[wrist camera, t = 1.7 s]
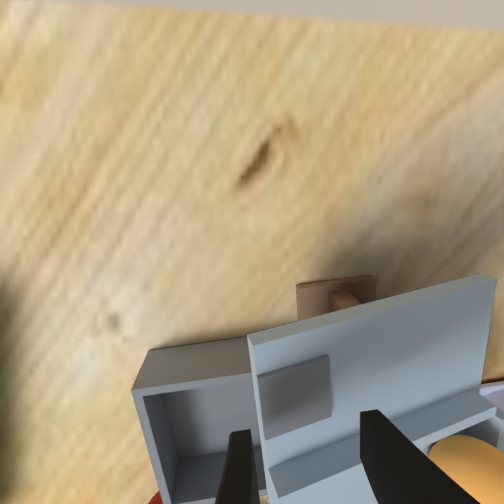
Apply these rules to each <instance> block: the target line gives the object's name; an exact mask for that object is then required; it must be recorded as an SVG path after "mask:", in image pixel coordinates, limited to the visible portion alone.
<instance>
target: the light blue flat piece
mask: <svg viewBox="0 0 504 504" xmlns="http://www.w3.org/2000/svg"><path fill="white" fill-rule="evenodd" d="M496 282H497V279H496V278H493V277H489V276H486V275H483V274H480V273H479V274H475V275H471V276H468V277H464V278H460V279H456V280H452V281H449V282H445V283H441V284H437V285H434V286H430V287H426V288H422V289H418V290H415V291H411V292H407V293H403V294H399V295H396V296H392V297H388V298H384V299H380V300H377V301H373V302H369V303H365V304H361V305H358V306H354V307H350V308H346V309H342V310H339V311H335V312H331V313H327V314H323V315H320V316H316V317H312V318H308V319H304V320H301V321H297V322H293V323H289V324H285V325H282V326H278V327H274V328H270V329H266V330H263V331H259V332H255V333H251V334H247V339H248V347H249V355H250V362H251V370H252V378H253V386H254V393H255V401H256V409H257V417H258V424H259V432H260V440H261V448H262V455H263V463H264V471H265V479H266V486H267V494H268V502H269V504H378V502H377V500H376V498H375V496H374V494H373V491H372V488H371V486H370V483H369V481H368V478H367V475H366V473H365V470H364V467H363V465H362V462H361V459H360V412H362V411H368V410H375V409H378V410H379V411H381V412H382V413H383V414H384V415H385V416H386V417H387V418H388V419H389V420H390V421H391V422H392V423H393V424H394V425H395V426H396V427H397V428H398V429H399V430H400V431H401V432H402V433H403V434H404V435H405V436H406V437H407V438H408V439H409V440H410V441H411V442H412V443H413V444H414V445H415V446H416V447H418V448H419V449H420V450H421V451H422V452H423V453H424V454H425V455H426V456H427V457H428V454H429V452H430V450H431V448H432V447H433V446H434V445H435V444H436V443H437V442H438V441H439V440H441V439H443V438H445V437H448V436H452V435H465V436H471V437H475V438H478V439H480V440H483V441H485V442H487V443H489V444H491V445H492V446H494V447H495V448H497V449H498V450H500V451H501V452H502V453H503V454H504V411H502V410H501V409H499V408H498V407H497V406H496V405H495V404H493V403H492V402H491V401H489V400H488V399H486V398H485V397H483V396H482V395H480V394H479V393H480V387H481V380H482V374H483V367H484V360H485V354H486V347H487V341H488V334H489V328H490V321H491V314H492V308H493V301H494V295H495V288H496Z"/></svg>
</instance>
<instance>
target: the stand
mask: <svg viewBox="0 0 504 504" xmlns="http://www.w3.org/2000/svg"><path fill="white" fill-rule="evenodd" d="M296 295H297V310H298V321H301V320H304V319H308V318H312V317H316V316H320V315H323V314H327V313H331V312H335V311H339V310H342V309H346V308H350V307H354V306H358V305H361V304H365V303H369V302H373V301H376V278H375V277H374V276H372V275H368V276H360V277H353V278H345V279H338V280H330V281H323V282H315V283H308V284H300V285H296Z"/></svg>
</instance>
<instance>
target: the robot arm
mask: <svg viewBox="0 0 504 504" xmlns="http://www.w3.org/2000/svg"><path fill="white" fill-rule="evenodd" d="M479 394H480V395H482V396H483V397H485V398H486V399H488V400H489V401H491V402H492V403H493V404H495V405H496V406H497V407H498V408H499V409H501V410H502V411H504V381H500V382H493V383H487V384H481V387H480V393H479ZM360 459H361V462H362V465H363V467H364V470H365V473H366V475H367V478H368V481H369V483H370V486H371V488H372V491H373V494H374V496H375V498H376V500H377V502H378V504H481V503H479V502H478V501H477V500H476V499H475V498H473V497H472V496H471V495H470V494H469V493H468V492H466V491H465V490H464V489H463V488H462V487H461V486H459V485H458V484H457V483H456V482H455V481H454V480H453V479H451V478H450V477H449V476H448V475H447V474H446V473H445V472H444V471H443V470H441V469H440V468H439V467H438V466H437V465H436V464H435V463H434V462H433V461H432V460H430V459H429V458H428V457H427V456H426V455H425V454H424V453H423V452H422V451H421V450H420V449H419V448H418V447H416V446H415V445H414V444H413V443H412V442H411V441H410V440H409V439H408V438H407V437H406V436H405V435H404V434H403V433H402V432H401V431H400V430H399V429H398V428H397V427H396V426H395V425H394V424H393V423H392V422H391V421H390V420H389V419H388V418H387V417H386V416H385V415H384V414H383V413H382V412H381V411H379V410H378V409H375V410H368V411H362V412H360ZM215 504H260V500H259V490H258V480H257V471H256V464H255V457H254V450H253V443H252V436H251V429H247V430H240V431H234V432H232V433H231V434H230V435H229V443H228V449H227V455H226V460H225V465H224V469H223V473H222V478H221V482H220V485H219V489H218V493H217V497H216V500H215Z"/></svg>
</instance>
